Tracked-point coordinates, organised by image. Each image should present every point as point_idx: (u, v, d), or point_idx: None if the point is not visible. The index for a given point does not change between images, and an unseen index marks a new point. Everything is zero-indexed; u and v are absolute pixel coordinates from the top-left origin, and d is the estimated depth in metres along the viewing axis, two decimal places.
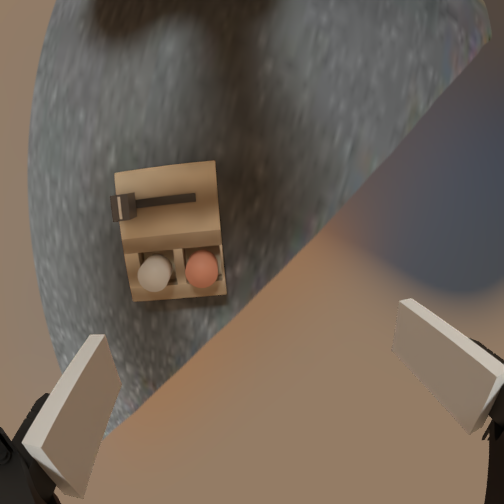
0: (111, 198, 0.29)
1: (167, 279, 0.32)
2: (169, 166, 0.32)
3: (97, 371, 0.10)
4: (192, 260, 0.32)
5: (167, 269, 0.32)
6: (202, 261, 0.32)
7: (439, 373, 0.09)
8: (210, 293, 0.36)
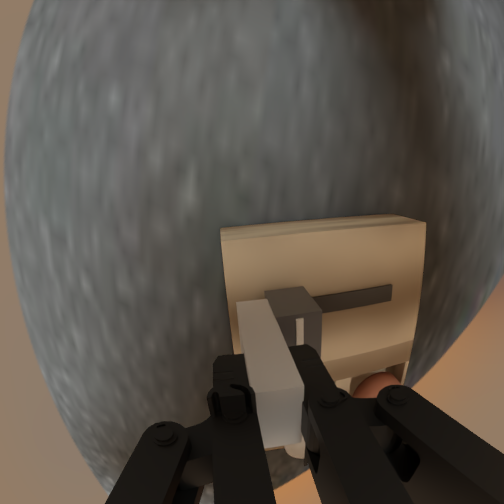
0: (278, 322, 0.12)
1: None
2: (351, 231, 0.15)
3: None
4: None
5: None
6: None
7: None
8: None
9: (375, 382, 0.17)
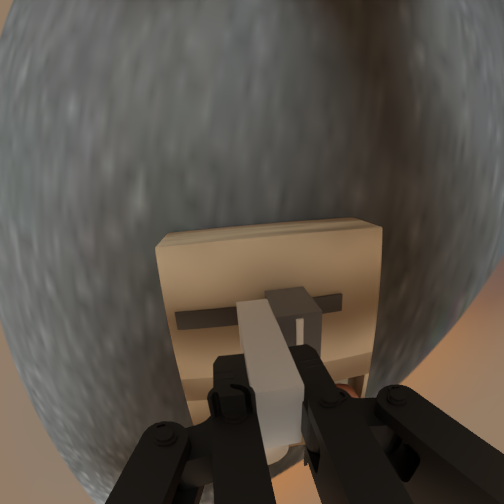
0: (278, 322, 0.12)
1: (285, 451, 0.15)
2: (291, 237, 0.15)
3: None
4: None
5: None
6: None
7: None
8: None
9: None
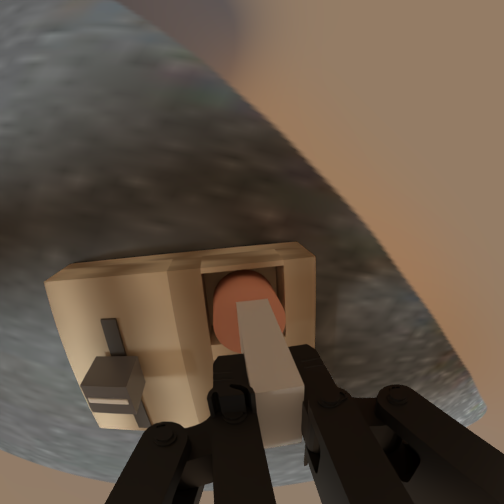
0: (95, 410, 0.13)
1: None
2: (69, 356, 0.16)
3: None
4: (222, 340, 0.14)
5: None
6: (224, 321, 0.14)
7: None
8: (310, 290, 0.17)
9: None
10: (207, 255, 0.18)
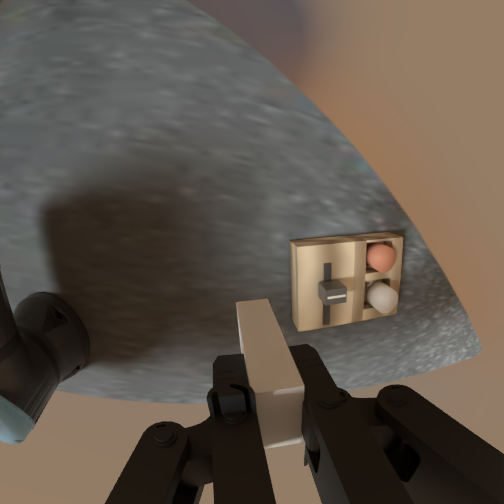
0: (327, 304, 0.36)
1: (391, 289, 0.37)
2: (299, 286, 0.38)
3: None
4: (375, 266, 0.37)
5: (383, 289, 0.37)
6: (377, 258, 0.37)
7: None
8: (400, 250, 0.39)
9: (366, 260, 0.40)
10: (360, 236, 0.40)
